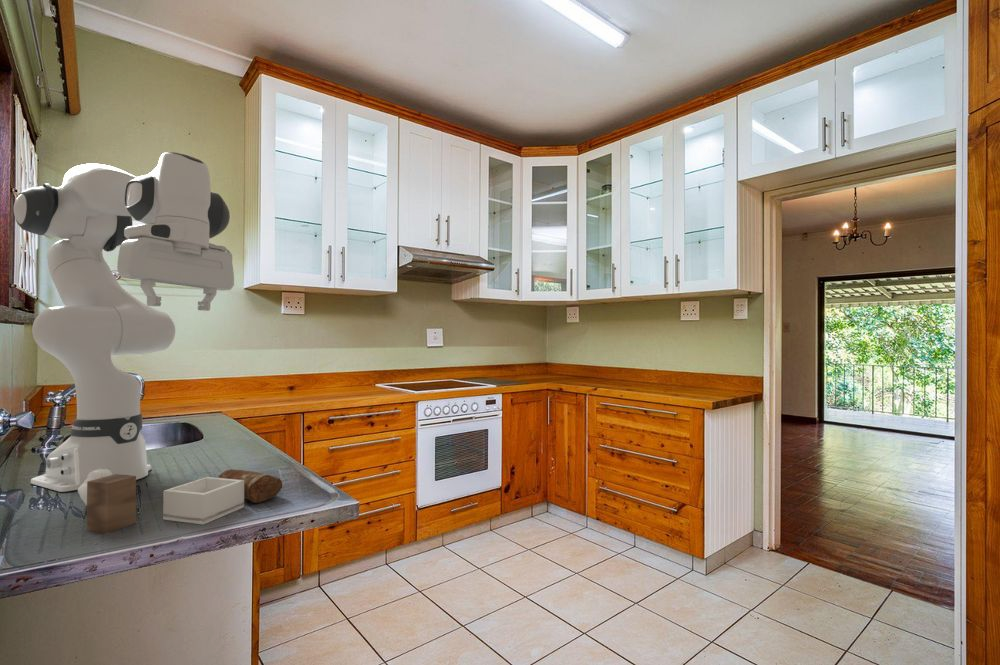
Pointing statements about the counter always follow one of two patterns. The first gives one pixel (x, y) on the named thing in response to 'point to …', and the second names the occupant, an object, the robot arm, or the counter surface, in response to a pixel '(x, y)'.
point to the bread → (255, 484)
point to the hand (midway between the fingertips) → (180, 308)
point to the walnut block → (111, 503)
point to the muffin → (91, 476)
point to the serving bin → (203, 500)
